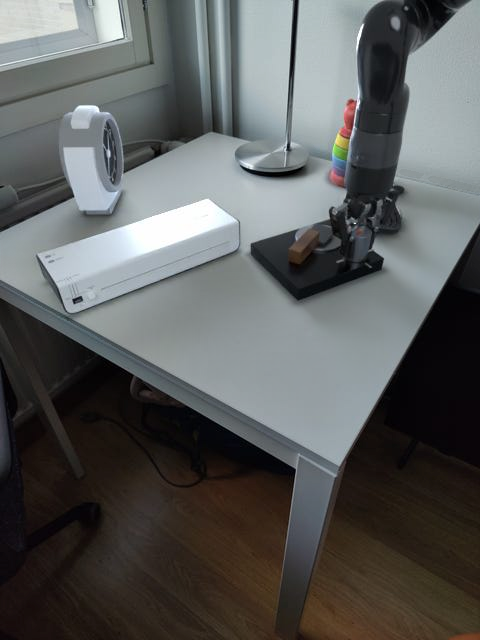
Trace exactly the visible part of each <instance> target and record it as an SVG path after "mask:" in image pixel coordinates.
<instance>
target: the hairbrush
mask: <svg viewBox="0 0 480 640" xmlns="http://www.w3.org/2000/svg"><path fill="white" fill-rule="evenodd" d="M392 189H394V190H396V191H398V192H399V196H402V195H403V194H404V193H405V189H406V188H405V187H404V186H402V185H395V184H393V187H392ZM396 205H397V206H398V203H395V206H394V208H393V210H392V213H391V215H390V217H389V219H388V222H387V223H386V224H385V225H381V226H380V228H379V230H378V231H376V233H384V234H389V235H390V234H398V232H399V231H400V229H401V226H402V219H403V216H402V212H401V209H400V207H398V208H397V206H396ZM384 213H385V210H384V209H382V216H383V215H384ZM362 226H365V225H364V223H363V225H362ZM365 227H366V226H365Z"/></svg>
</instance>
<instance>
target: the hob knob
mask: <svg viewBox="0 0 480 640" xmlns="http://www.w3.org/2000/svg"><path fill="white" fill-rule="evenodd" d="M348 231H349V232H350V231H351V226H349V229H348ZM371 235H372V231H371V230H370V229H369V228H367V227H365V226H362V228H361V229H358V232H357V234H356V237H355V239H354V240H355V245H354V251H353V257H352V258H350V259H347V258H346V259H347V260H349V261H351V262H363V261H365V260H366V259H367V255H368V250H369V245H370V240H371Z"/></svg>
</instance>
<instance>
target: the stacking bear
mask: <svg viewBox="0 0 480 640" xmlns="http://www.w3.org/2000/svg"><path fill="white" fill-rule="evenodd" d="M357 100H358V99H356V100H354V99H353V98H349V99H347V101H346V103H345V106H346V108H345V109H344V111H343V122H344V125H343V126H342V127H341V128H340V130H339V132H338V133H337V135H336V138H335V142H334V144H333V147H332V153H331V159H332V169H331V172H330V176H329V178H330V180H331V182H332V183H334V185H337V186H339V187H345V188H346V186H345V183H344V179H345V171H346V164H347V157H348V150H349V143H350V138H351V134H352V130H353V126H354V120H355V113H356V106H357Z"/></svg>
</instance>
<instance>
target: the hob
mask: <svg viewBox="0 0 480 640" xmlns="http://www.w3.org/2000/svg"><path fill="white" fill-rule="evenodd" d="M316 223H317V224H320V225H327V226H331V223H330V218H329V219H325V220H323V221H319V222H316ZM314 224H315V223H311V225H314ZM303 227H304V226H303ZM303 227H299V228H296V229H292V230H290V231H286V232H284V233H280V234H277V235H273V236H270V237H267V238H263V239H261V240H257V241H253V242H251V243H250V255H251V256H252V258H254V259H255V260H256V261H257V262H258V264H260V265H261V267H263V268H264V269H265V270H266V271H267V273H269V274H270V276H272V277H273V278H274V280H276V281H277V282H278V283H279V284H280V285H281V287H283V288H284V289H285V290H286V291H287V292H288V293H289V294H290V295H291V296H292V297H293V298H294V299H295V300H296V301H297V302H299V301H301V300H304V299H307V298H310V297H313V296H315V295H318V294H321V293H324V292H326V291H329V290H332V289H334V288H337V287H339V286H343V285H345V284H348V283H350V282H353V281H356V280H358V279H362V278H364V277H367V276H369V275H372V274H374V273H377V272H379V271H382V270H383V266H384V261H385V258H384V257H383V256H382V255H380V254H379V253H378V252H376V251H375V249H374V248H372V249H370V250H368V255H367V259H366V260H365V261H363V262H351V261H349V260H347V259H346V258H345V257H344V256H342V255H341V253H340V247H339V248H337V249H335V250H332V251H326V252H318V251H312V252H311V253H310V254H309V255H308V256H307V257H306V258H305V259H304V261H303V262H302V263H301V264H297V263H294V262H291V261H289V249H290V247H291V246H292V245H293V244H294V243H295V242H296V233H297V231H298V230H299V229H301V228H303Z"/></svg>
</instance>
